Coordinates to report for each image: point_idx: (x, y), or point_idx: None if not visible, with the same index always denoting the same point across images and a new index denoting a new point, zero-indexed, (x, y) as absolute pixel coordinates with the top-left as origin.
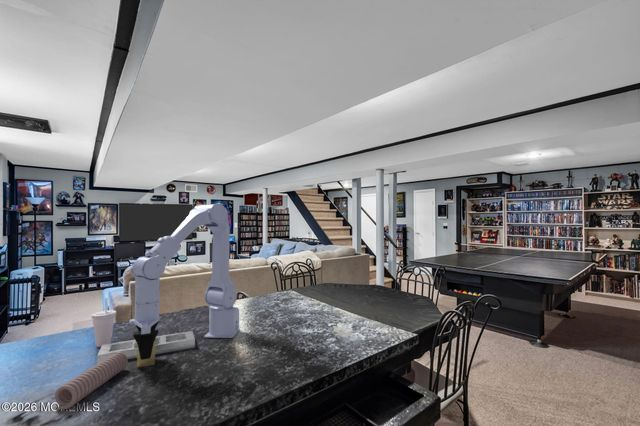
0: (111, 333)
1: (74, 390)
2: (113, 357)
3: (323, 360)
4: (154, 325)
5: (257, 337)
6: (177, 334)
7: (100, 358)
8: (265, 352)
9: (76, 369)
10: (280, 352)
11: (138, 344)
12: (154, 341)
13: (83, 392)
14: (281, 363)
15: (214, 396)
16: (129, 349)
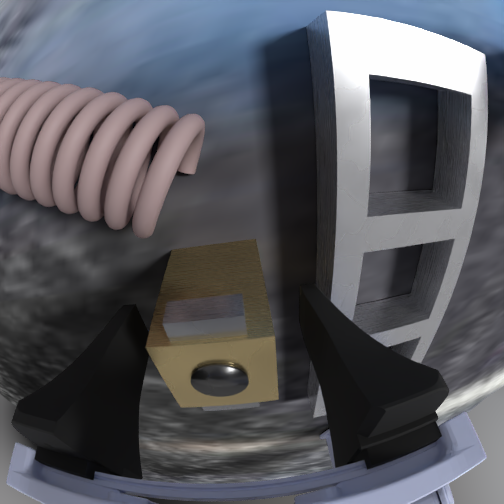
0: None
1: None
2: (60, 188)
3: (148, 474)
4: (336, 444)
5: (291, 455)
6: None
7: (320, 34)
8: (197, 460)
9: None
10: (190, 466)
11: (65, 373)
12: (180, 405)
13: None
14: (143, 460)
15: (27, 393)
16: (344, 207)
